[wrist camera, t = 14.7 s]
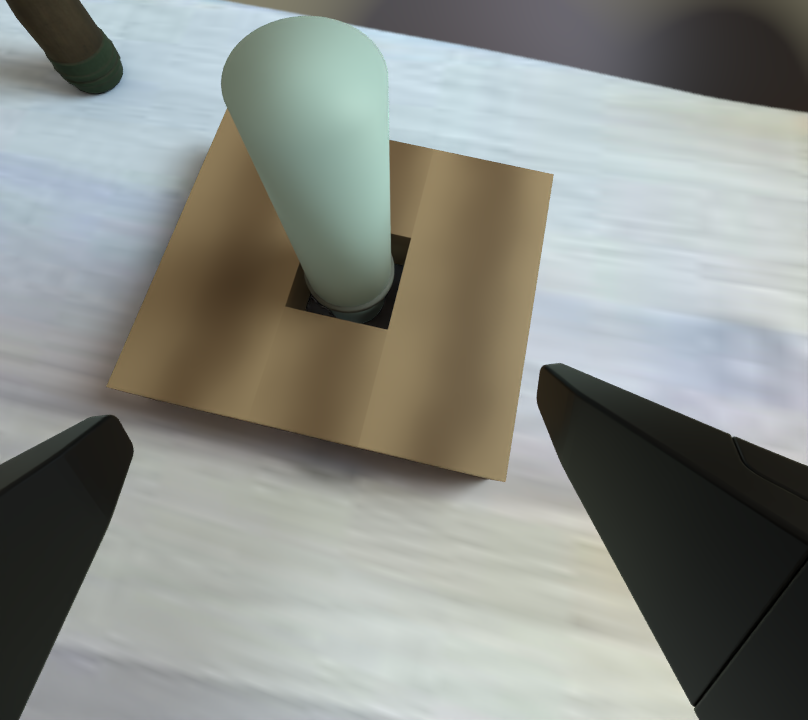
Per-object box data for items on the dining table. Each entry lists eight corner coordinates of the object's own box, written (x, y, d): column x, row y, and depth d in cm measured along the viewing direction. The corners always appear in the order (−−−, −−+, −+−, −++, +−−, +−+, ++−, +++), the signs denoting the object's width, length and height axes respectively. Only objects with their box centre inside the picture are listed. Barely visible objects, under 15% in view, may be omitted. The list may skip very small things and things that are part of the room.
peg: (332, 344, 21) (243, 175, 9) (306, 277, 22) (194, 37, 10) (405, 317, 22) (421, 119, 9) (377, 252, 23) (357, -7, 10)
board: (147, 397, 20) (106, 386, 17) (247, 148, 24) (228, 105, 22) (489, 479, 20) (505, 481, 17) (534, 209, 24) (553, 174, 21)
